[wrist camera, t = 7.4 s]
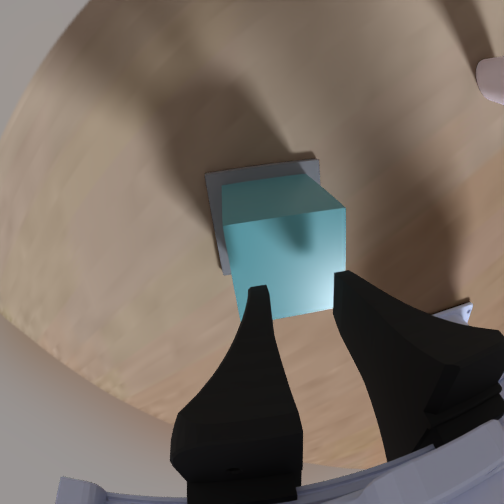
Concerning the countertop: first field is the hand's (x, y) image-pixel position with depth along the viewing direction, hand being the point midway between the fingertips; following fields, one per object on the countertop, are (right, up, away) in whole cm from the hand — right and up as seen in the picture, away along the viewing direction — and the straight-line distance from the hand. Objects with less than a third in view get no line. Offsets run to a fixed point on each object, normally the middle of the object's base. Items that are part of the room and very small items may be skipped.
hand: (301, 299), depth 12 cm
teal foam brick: (-1, +4, +8) cm, 9 cm away
